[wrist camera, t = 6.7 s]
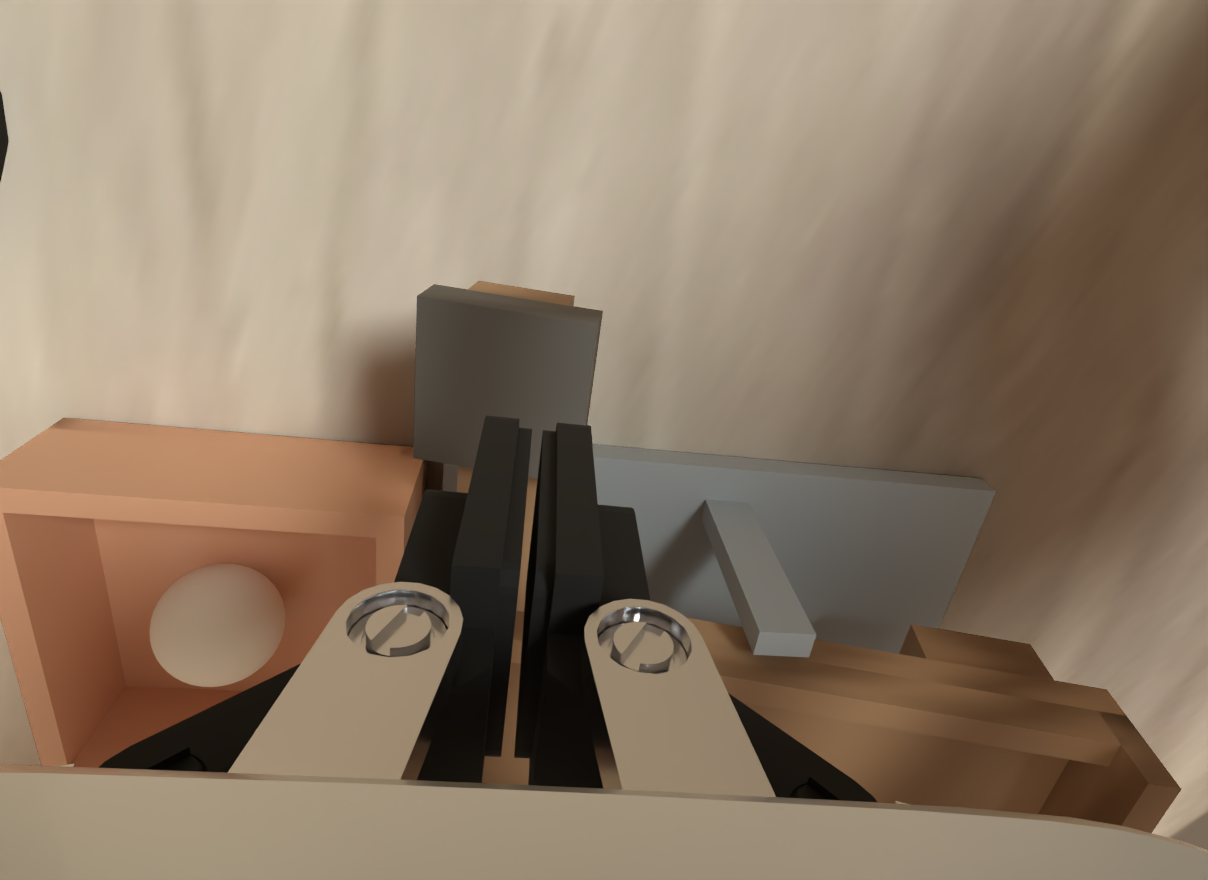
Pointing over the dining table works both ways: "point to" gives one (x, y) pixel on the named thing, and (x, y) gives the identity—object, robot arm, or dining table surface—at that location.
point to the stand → (794, 543)
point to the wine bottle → (2, 136)
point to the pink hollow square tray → (176, 559)
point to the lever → (832, 671)
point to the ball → (217, 625)
